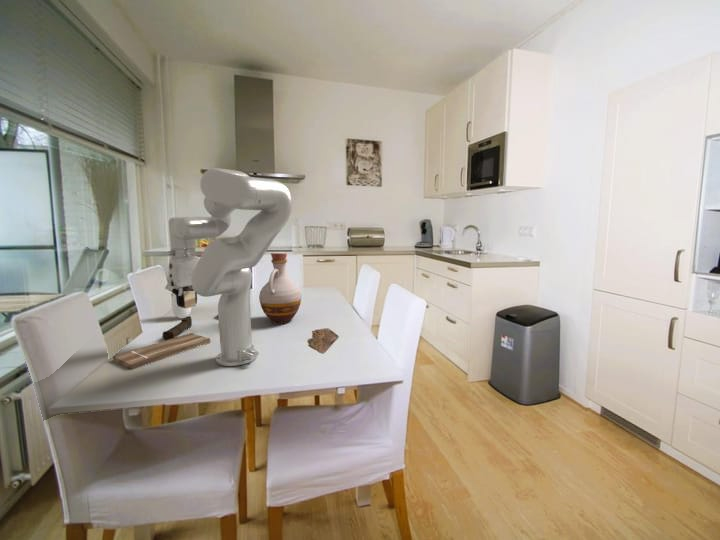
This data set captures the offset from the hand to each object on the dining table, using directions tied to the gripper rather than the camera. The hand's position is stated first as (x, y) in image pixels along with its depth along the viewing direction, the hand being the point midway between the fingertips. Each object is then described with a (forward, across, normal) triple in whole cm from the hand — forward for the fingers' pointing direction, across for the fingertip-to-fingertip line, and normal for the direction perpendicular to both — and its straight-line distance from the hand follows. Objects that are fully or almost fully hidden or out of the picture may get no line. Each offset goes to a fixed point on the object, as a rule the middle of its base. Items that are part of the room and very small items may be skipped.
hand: (187, 304), depth 121 cm
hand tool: (+15, +5, +15) cm, 22 cm away
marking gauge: (+1, 0, 0) cm, 1 cm away
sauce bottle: (+15, +17, +32) cm, 39 cm away
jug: (+15, +36, -10) cm, 40 cm away
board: (+14, -9, 0) cm, 17 cm away
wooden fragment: (+15, +27, -39) cm, 50 cm away
